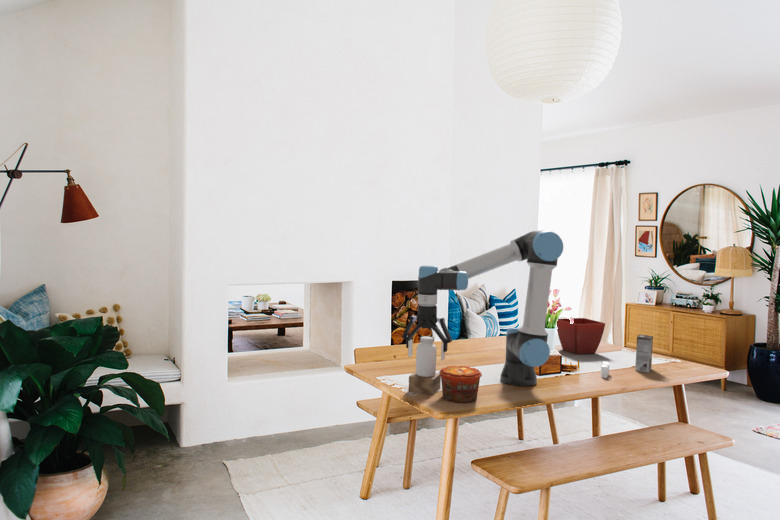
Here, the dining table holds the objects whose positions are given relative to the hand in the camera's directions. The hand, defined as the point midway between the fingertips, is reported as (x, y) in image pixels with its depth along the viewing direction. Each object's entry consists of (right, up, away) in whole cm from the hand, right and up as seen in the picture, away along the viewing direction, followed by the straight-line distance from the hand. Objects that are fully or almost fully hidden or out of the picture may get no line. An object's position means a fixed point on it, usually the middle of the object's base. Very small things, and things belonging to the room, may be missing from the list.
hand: (426, 358), depth 221 cm
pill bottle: (0, -7, 0) cm, 7 cm away
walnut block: (-1, -13, +1) cm, 13 cm away
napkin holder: (+83, -14, +33) cm, 90 cm away
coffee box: (+107, -14, +45) cm, 116 cm away
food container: (+12, -14, -9) cm, 20 cm away
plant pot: (+89, -11, +83) cm, 122 cm away
